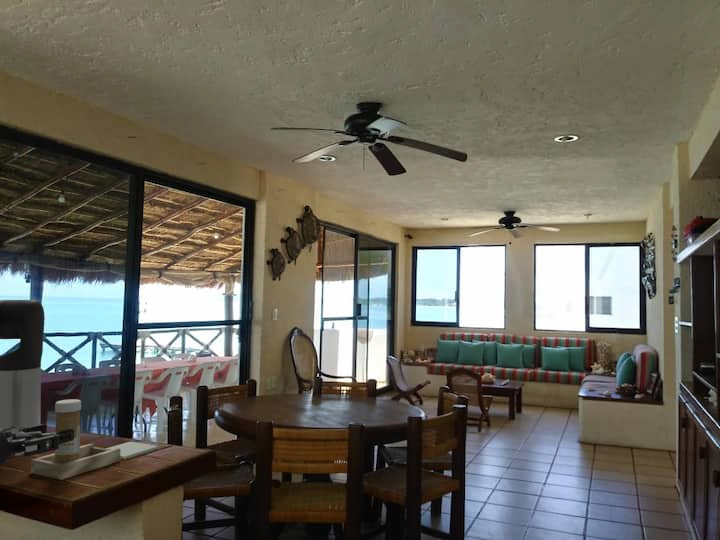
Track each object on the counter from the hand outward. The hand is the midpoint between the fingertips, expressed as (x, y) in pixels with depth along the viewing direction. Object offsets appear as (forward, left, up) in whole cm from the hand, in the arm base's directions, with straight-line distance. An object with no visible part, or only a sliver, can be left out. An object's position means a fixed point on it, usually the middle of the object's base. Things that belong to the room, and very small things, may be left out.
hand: (59, 431), depth 111 cm
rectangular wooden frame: (+3, +3, -8) cm, 9 cm away
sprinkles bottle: (+1, +1, -8) cm, 8 cm away
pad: (+11, +11, -8) cm, 18 cm away
